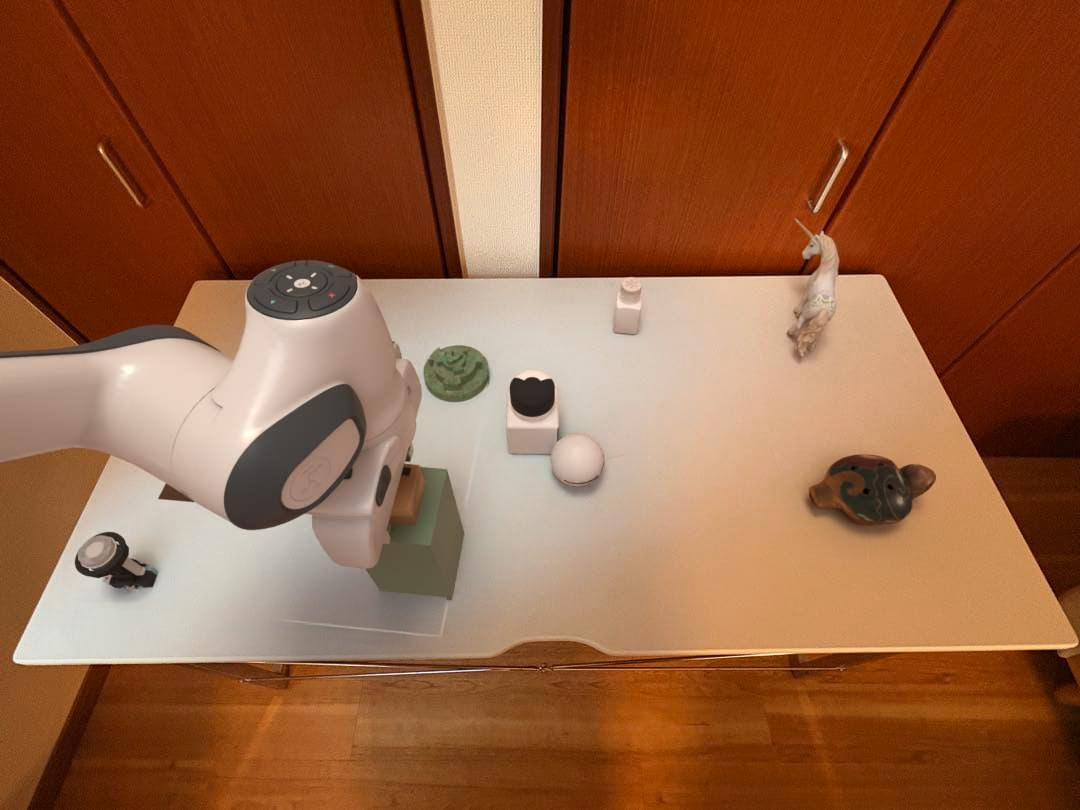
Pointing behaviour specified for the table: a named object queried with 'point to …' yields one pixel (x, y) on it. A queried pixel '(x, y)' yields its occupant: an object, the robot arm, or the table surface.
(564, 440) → the white sphere
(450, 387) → the decorative artifact
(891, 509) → the decorative turtle
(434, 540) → the stand
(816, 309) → the unicorn figurine
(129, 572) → the push button
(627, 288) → the pepper shaker
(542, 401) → the white black domed block
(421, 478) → the tile
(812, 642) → the table surface
